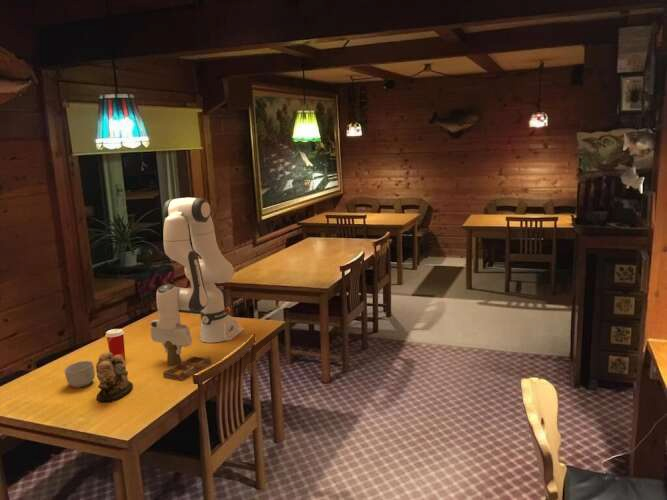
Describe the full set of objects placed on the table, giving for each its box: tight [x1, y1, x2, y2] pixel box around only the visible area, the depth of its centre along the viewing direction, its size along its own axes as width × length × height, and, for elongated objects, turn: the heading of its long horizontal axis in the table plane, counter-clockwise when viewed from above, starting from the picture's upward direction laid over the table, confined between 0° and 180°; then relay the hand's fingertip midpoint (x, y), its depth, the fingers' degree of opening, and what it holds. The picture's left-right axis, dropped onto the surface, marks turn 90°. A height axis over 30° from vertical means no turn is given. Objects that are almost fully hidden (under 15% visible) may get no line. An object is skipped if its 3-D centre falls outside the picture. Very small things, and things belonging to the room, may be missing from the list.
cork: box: [166, 341, 182, 367], centre depth 242 cm, size 6×6×11 cm
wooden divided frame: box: [162, 355, 212, 382], centre depth 235 cm, size 18×10×4 cm, turn 152°
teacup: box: [63, 359, 96, 388], centre depth 227 cm, size 14×11×8 cm
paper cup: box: [105, 328, 126, 362], centre depth 247 cm, size 8×8×14 cm
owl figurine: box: [95, 351, 134, 403], centre depth 215 cm, size 18×12×17 cm, turn 177°
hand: (173, 353), depth 242 cm, fingers closed on cork, 4 cm apart
